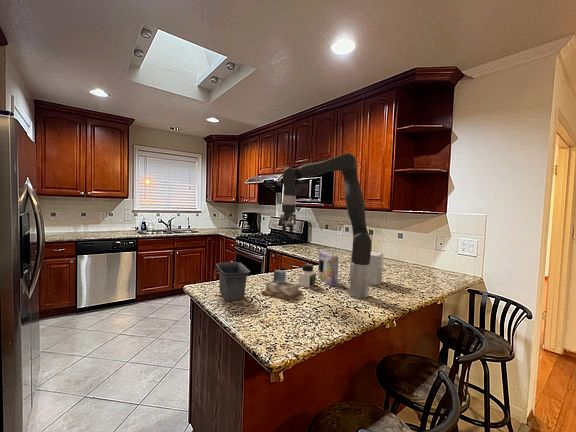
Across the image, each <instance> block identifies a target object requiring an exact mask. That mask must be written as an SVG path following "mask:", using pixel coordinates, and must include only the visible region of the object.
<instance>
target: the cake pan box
mask: <svg viewBox="0 0 576 432" xmlns="http://www.w3.org/2000/svg"><path fill="white" fill-rule="evenodd" d="M317 266H318V279H319V280H320V281H323V282H324V283H326V284H327V285H329V286H330V287H338V283H339V282H338V281H339V279H338V278H339V275H338V274H339V255H336V254H334V253H332V252H328V251H326V250H321V251H318V264H317Z"/></svg>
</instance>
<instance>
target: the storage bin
mask: <svg viewBox="0 0 576 432" xmlns="http://www.w3.org/2000/svg"><path fill="white" fill-rule="evenodd" d="M215 266H216V269H214V271H213V279H214V280H216V279H217V275H218V280H219V281H218V282H219V283H218V284H219V291H220V292H221V294H222V296H223V297H224V299H225V301H227V302H234V301H235V302H237V301H243V300H244V299H245V294H246V285H247V278H248V277H249V276H250V272H251V270H249V268H247V266H245V265H244V264H243V263H242V262H238V261H230V262H228V261H227V262H219V263H218V262H217V263H216V264H215ZM217 271H218V272H217Z"/></svg>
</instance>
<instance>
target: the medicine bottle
mask: <svg viewBox="0 0 576 432" xmlns="http://www.w3.org/2000/svg"><path fill="white" fill-rule="evenodd" d="M301 270H302V272H299V273H298V284H299V286H301V287H305V288H309V289H310V288H312V287H313V286H316V277H317V276H316V274H317V273H316V272H314V266H313V264H309V263H304V264H303V265H302V269H301Z"/></svg>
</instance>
